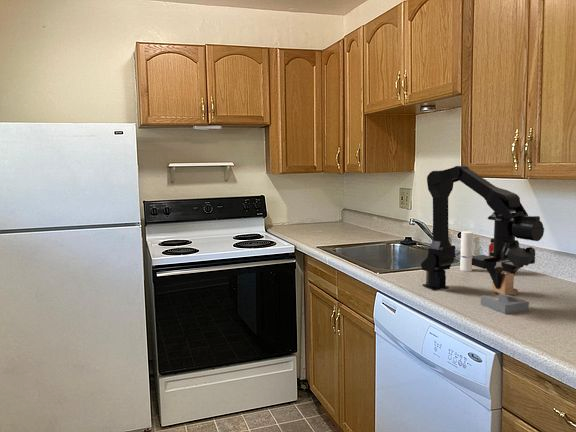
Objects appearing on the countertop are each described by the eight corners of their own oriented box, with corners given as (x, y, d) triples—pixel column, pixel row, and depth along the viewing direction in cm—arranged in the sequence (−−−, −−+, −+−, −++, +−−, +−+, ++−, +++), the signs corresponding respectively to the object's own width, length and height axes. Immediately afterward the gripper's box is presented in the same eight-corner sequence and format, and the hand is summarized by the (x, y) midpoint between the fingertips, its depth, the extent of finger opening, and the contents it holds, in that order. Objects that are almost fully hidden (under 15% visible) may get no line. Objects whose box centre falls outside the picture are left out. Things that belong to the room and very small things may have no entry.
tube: (469, 268, 193) (470, 231, 191) (473, 271, 189) (474, 233, 187) (458, 269, 193) (459, 231, 191) (462, 271, 189) (463, 233, 187)
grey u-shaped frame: (480, 304, 148) (480, 296, 148) (503, 301, 151) (503, 293, 151) (504, 313, 139) (505, 305, 139) (528, 310, 142) (528, 301, 142)
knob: (489, 290, 162) (490, 267, 161) (506, 288, 165) (507, 265, 164) (505, 296, 156) (506, 271, 155) (522, 294, 158) (523, 269, 157)
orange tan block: (492, 290, 147) (493, 270, 146) (500, 289, 148) (500, 270, 147) (504, 294, 142) (505, 274, 142) (512, 293, 143) (513, 273, 143)
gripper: (499, 243, 133) (497, 299, 135) (551, 238, 139) (549, 291, 141) (471, 236, 143) (469, 288, 145) (521, 232, 149) (518, 282, 151)
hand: (502, 288), depth 145 cm, fingers closed on orange tan block, 3 cm apart
